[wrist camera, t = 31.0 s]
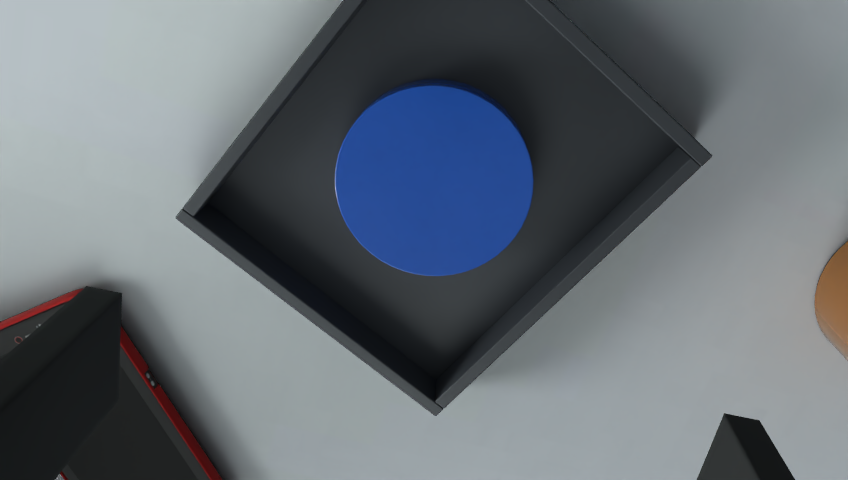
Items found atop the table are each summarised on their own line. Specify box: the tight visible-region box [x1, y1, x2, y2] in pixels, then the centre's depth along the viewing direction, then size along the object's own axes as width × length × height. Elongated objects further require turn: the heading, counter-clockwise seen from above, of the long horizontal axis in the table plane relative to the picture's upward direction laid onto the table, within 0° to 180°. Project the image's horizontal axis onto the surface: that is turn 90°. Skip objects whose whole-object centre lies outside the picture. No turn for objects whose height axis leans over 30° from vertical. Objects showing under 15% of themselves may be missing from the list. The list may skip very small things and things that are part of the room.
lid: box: [335, 79, 534, 276], centre depth 32 cm, size 9×8×2 cm
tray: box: [176, 0, 712, 416], centre depth 32 cm, size 17×15×3 cm
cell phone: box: [0, 288, 222, 480], centre depth 38 cm, size 8×15×1 cm, turn 24°
